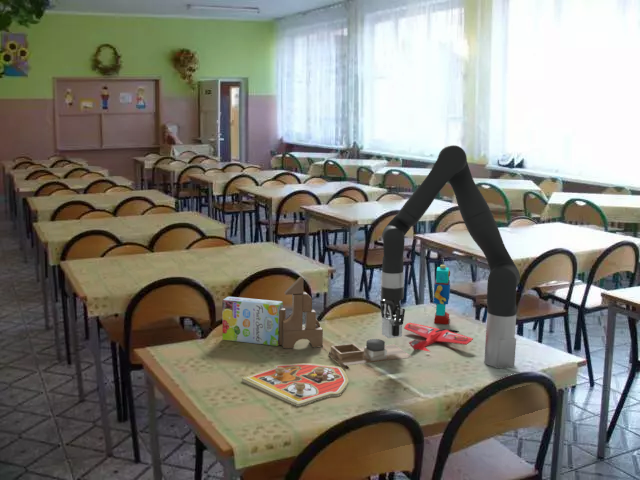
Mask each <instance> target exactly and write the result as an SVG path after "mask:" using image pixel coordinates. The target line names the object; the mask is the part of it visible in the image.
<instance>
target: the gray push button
mask: <svg viewBox="0 0 640 480" xmlns="http://www.w3.org/2000/svg"><path fill="white" fill-rule="evenodd" d="M385 343H386V341H385V340H382V339H377V338H371V339H368V340H366V344H365V345H366V346H365V347H366V348H367V349H369V350H372V351H380V350H383V349H384V348H385V345H386V344H385Z"/></svg>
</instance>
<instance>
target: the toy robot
mask: <svg viewBox="0 0 640 480" xmlns="http://www.w3.org/2000/svg"><path fill="white" fill-rule="evenodd" d="M442 262H444V258H443V259H442ZM450 276H451V271H450V267H447V266H446V264H440V266H437V268H436V276H435V277H436V278H435V280H434V285H433V287H434V289H433V304H436V309H435V314H434V321H433V323H434V324H440V325H449V321H450V313H448V312H446V305H449V300H450V293H451V283H450Z"/></svg>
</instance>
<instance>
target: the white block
mask: <svg viewBox="0 0 640 480" xmlns="http://www.w3.org/2000/svg"><path fill="white" fill-rule="evenodd" d="M395 319H396V318H395ZM400 320H401V319H400ZM392 330H393V324H392V319H391V318H390V316H389V317H382V316H381V335H382V336H384V337H385V338H387V339H394V338H395V339H396V338H402V337H403V325H399V336H393V335H392Z"/></svg>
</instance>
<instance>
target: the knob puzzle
mask: <svg viewBox="0 0 640 480" xmlns="http://www.w3.org/2000/svg"><path fill="white" fill-rule="evenodd" d="M241 383H244V384H247V385H249V386H250V387H253V388H256V389H257V390H260V391H262V392H264V393H266V394H269V395H270V396H273V397H275V398H277V399H279V400H282V401H284V402H286V403H288V404H290V403H291V405H293V404H294V405H293V406H295V405H296V406H295V407H297V406H299V407H302V406H301V405H303V406H306V405H308V403H309V404H312V403H314V402H313V401H315V402H317V401H316V400H318V401H320V400H319V399H321V400H323V399H322V398H324V399H327V398H330V397H339V396H338V395H340V394H341V393H342V392H343V391H345V390H346V389H347V387H348V386H349V378H348V375H347V373H346V372H345V370H344V368H343V367H342V366H337V365H331V364H322V363H312V362H311V363H310V362H309V363H307V362H299V363H297V362H296V363H283V364H282V363H281V364H274V365H273V367H271V368H268V369H264V370H262V371H257V372H256V373H252V374H249V375H245V376H243V377H242V378H241ZM347 385H348V386H347ZM345 388H346V389H345ZM343 393H344V392H343ZM343 393H342V394H343ZM342 394H341V395H342ZM341 395H340V396H341ZM329 396H330V397H329ZM326 397H327V398H326ZM311 402H312V403H311ZM305 404H306V405H305Z"/></svg>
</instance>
